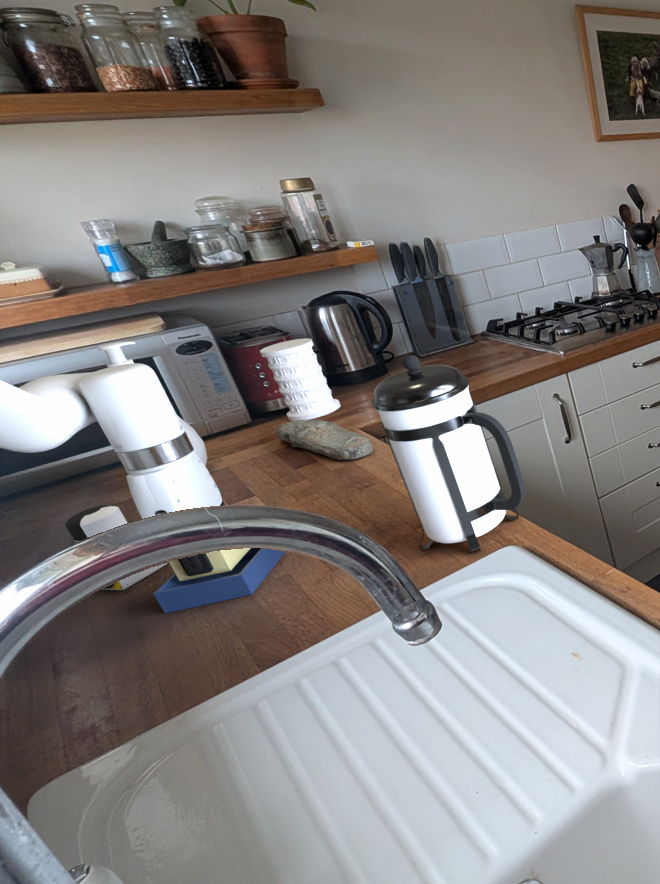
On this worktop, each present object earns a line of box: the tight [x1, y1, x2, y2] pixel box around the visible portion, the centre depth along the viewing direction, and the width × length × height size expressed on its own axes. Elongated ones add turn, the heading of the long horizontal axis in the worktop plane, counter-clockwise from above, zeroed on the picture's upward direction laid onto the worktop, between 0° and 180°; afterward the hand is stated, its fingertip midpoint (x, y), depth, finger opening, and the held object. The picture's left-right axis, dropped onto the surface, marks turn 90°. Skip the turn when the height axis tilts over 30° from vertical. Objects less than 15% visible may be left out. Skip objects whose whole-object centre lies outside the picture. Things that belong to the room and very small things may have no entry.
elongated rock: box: [274, 419, 374, 461], centre depth 150 cm, size 35×5×10 cm
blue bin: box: [153, 548, 285, 614], centre depth 102 cm, size 11×11×4 cm
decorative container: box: [259, 337, 342, 422], centre depth 170 cm, size 12×12×18 cm
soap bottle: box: [97, 340, 208, 467], centre depth 137 cm, size 17×12×29 cm
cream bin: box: [168, 548, 250, 581], centre depth 100 cm, size 7×7×5 cm
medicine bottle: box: [64, 504, 168, 591], centre depth 105 cm, size 7×7×12 cm
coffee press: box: [370, 354, 526, 555], centre depth 102 cm, size 17×16×30 cm
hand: (214, 558), depth 101 cm, fingers closed on cream bin, 6 cm apart
